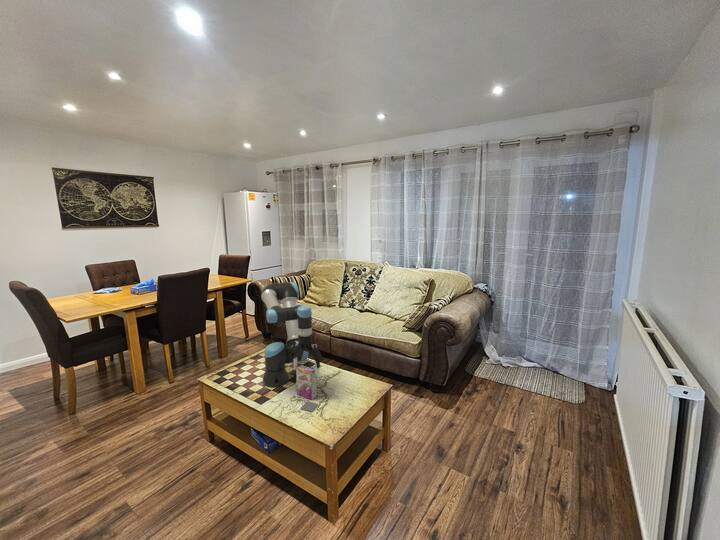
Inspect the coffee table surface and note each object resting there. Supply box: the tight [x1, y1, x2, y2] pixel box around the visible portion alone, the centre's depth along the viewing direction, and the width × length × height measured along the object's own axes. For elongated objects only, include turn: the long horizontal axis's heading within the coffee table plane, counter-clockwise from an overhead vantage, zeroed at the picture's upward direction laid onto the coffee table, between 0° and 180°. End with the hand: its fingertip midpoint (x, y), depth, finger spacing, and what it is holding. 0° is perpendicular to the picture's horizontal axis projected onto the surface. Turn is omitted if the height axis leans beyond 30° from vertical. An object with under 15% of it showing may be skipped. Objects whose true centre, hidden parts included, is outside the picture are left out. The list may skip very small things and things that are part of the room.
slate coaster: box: [300, 400, 319, 413], centre depth 161 cm, size 7×7×1 cm
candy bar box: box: [295, 364, 318, 401], centre depth 171 cm, size 11×5×16 cm, turn 59°
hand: (306, 371), depth 169 cm, fingers open, 13 cm apart
